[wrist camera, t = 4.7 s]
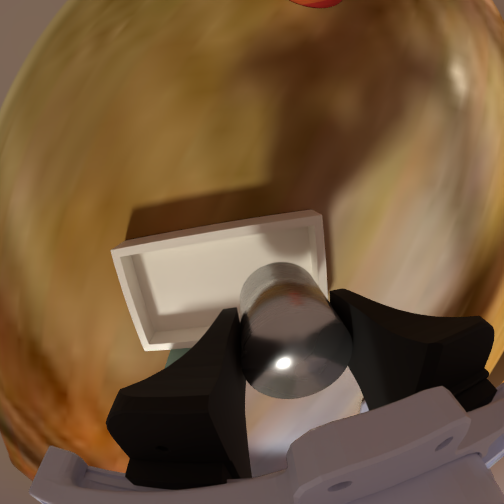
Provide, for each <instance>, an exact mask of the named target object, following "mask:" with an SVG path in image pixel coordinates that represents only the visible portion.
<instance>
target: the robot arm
mask: <svg viewBox="0 0 504 504" xmlns="http://www.w3.org/2000/svg"><path fill="white" fill-rule="evenodd" d="M330 304H331V305H332V307H333V308H334V310H335V311H336V313H337V315H338V316H339V318H340V319H341V321H342V322H343V324H344V325H345V327H346V328H347V330H348V331H349V333H350V336H351V339H352V355H351V359H350V361H349V363H348V367H349V368H350V370H351V372H352V374H353V375H354V377H355V379H356V381H357V383H358V385H359V387H360V389H361V391H362V394H363V396H364V399H365V400H364V401H363V402H362V404H361V409H360V414H357V415H354V416H351V417H347V418H344V419H340V420H336V421H332V422H330V423H327V424H324V425H322V426H319V427H316V428H314V429H311V430H309V431H308V432H307V433H305V434H304V435H302V436H301V437H300V438H298V439H297V440H295V441H294V442H293V443H292V444H291V446H290V448H289V450H288V453H287V455H286V458H287V465H288V467H287V469H284V470H281V471H278V472H274V473H270V474H267V475H263V476H259V477H255V478H252V476H251V468H250V459H249V450H248V440H247V430H246V418H245V388H246V378H245V377H244V374H243V371H242V366H241V333H240V320H239V315H238V310H237V307H234V308H227V309H223V310H222V311H221V312H220V314H219V315H218V316H217V318H216V319H215V321H214V322H213V323H212V325H211V326H210V327H209V329H208V330H207V331H206V333H205V334H204V335H203V336H202V337H201V338H200V340H199V341H198V342H197V343H196V344H195V345H194V346H193V347H192V348H191V349H190V350H189V351H188V352H186V353H185V354H184V355H183V356H182V357H180V358H179V359H178V360H176V361H175V362H173V363H172V364H171V365H169V366H168V367H166V368H165V369H163V370H161V371H160V372H158V373H156V374H154V375H152V376H151V377H149V378H147V379H145V380H142V381H140V382H138V383H135V384H133V385H130V386H128V387H125V388H122V389H120V390H119V392H118V394H117V396H116V398H115V401H114V403H113V405H112V408H111V410H110V412H109V415H108V417H107V421H106V425H107V429H108V431H109V433H110V434H111V436H112V437H113V439H114V440H115V441H116V442H117V444H118V445H119V446H120V447H121V448H122V450H123V451H124V452H125V453H126V454H127V455H128V456H129V458H130V460H129V463H128V467H127V470H126V473H120V472H114V471H109V470H104V469H100V468H95V467H91V466H88V465H87V464H86V463H85V462H84V460H83V459H82V458H81V457H79V456H78V455H76V454H75V453H73V452H70V451H67V450H64V449H60V448H57V447H54V446H49V448H48V450H47V452H46V454H45V456H44V459H43V461H42V463H41V465H40V467H39V469H38V471H37V473H36V476H35V478H34V480H33V482H32V485H31V487H30V489H29V494H30V495H32V496H33V497H34V498H35V499H37V500H38V501H40V502H41V503H42V504H504V495H503V493H502V491H501V489H500V488H499V486H498V485H497V483H496V481H495V479H494V477H493V474H492V472H491V470H490V467H491V466H493V465H494V464H495V463H496V462H497V461H499V460H500V459H501V458H502V457H503V456H504V382H503V383H502V384H501V385H499V386H498V387H497V388H495V387H494V386H493V385H492V384H491V383H490V381H489V380H488V379H487V378H488V376H489V372H488V371H487V370H486V369H485V368H484V367H485V365H486V362H487V360H488V357H489V355H490V352H491V349H492V346H493V342H494V329H493V327H492V326H491V325H490V324H489V323H488V322H487V321H485V320H484V319H483V318H481V317H480V316H470V317H435V316H427V315H420V314H414V313H410V312H406V311H402V310H398V309H394V308H391V307H388V306H386V305H383V304H380V303H377V302H375V301H372V300H370V299H368V298H365V297H363V296H361V295H358V294H356V293H354V292H351V291H349V290H346V289H338V290H333V291H330Z"/></svg>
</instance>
